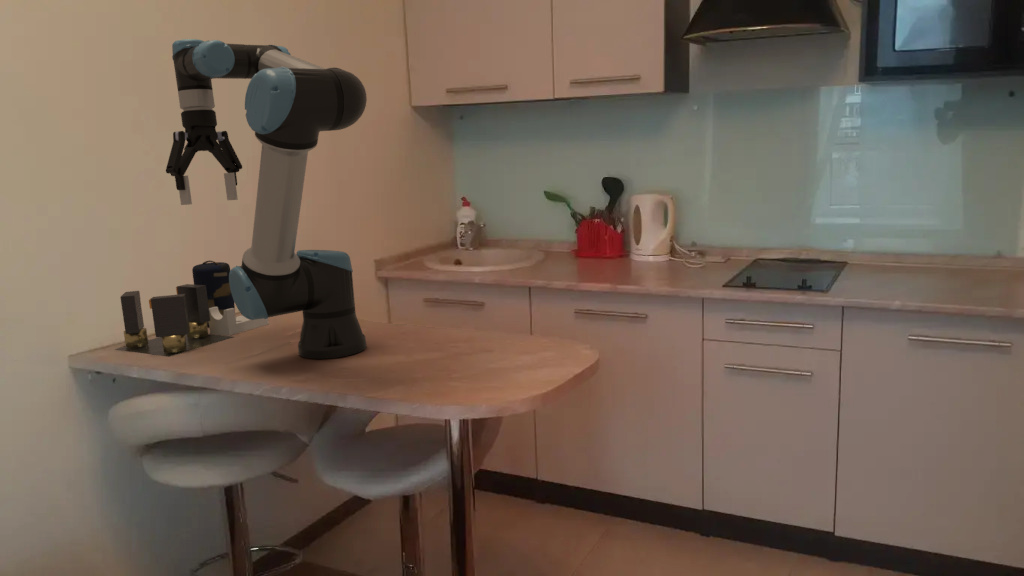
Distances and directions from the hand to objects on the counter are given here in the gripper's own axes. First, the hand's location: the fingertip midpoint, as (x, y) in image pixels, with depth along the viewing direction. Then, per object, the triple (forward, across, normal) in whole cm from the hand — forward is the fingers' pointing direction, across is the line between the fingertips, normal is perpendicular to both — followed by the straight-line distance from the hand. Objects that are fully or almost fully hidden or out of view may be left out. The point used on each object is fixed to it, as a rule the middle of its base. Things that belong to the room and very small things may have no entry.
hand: (210, 202), depth 186 cm
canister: (+34, -15, -20) cm, 42 cm away
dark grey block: (+34, +11, -6) cm, 36 cm away
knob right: (+33, -2, -13) cm, 36 cm away
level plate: (+34, +5, -13) cm, 37 cm away
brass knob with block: (+33, +10, -20) cm, 40 cm away
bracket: (+35, -12, -8) cm, 37 cm away
